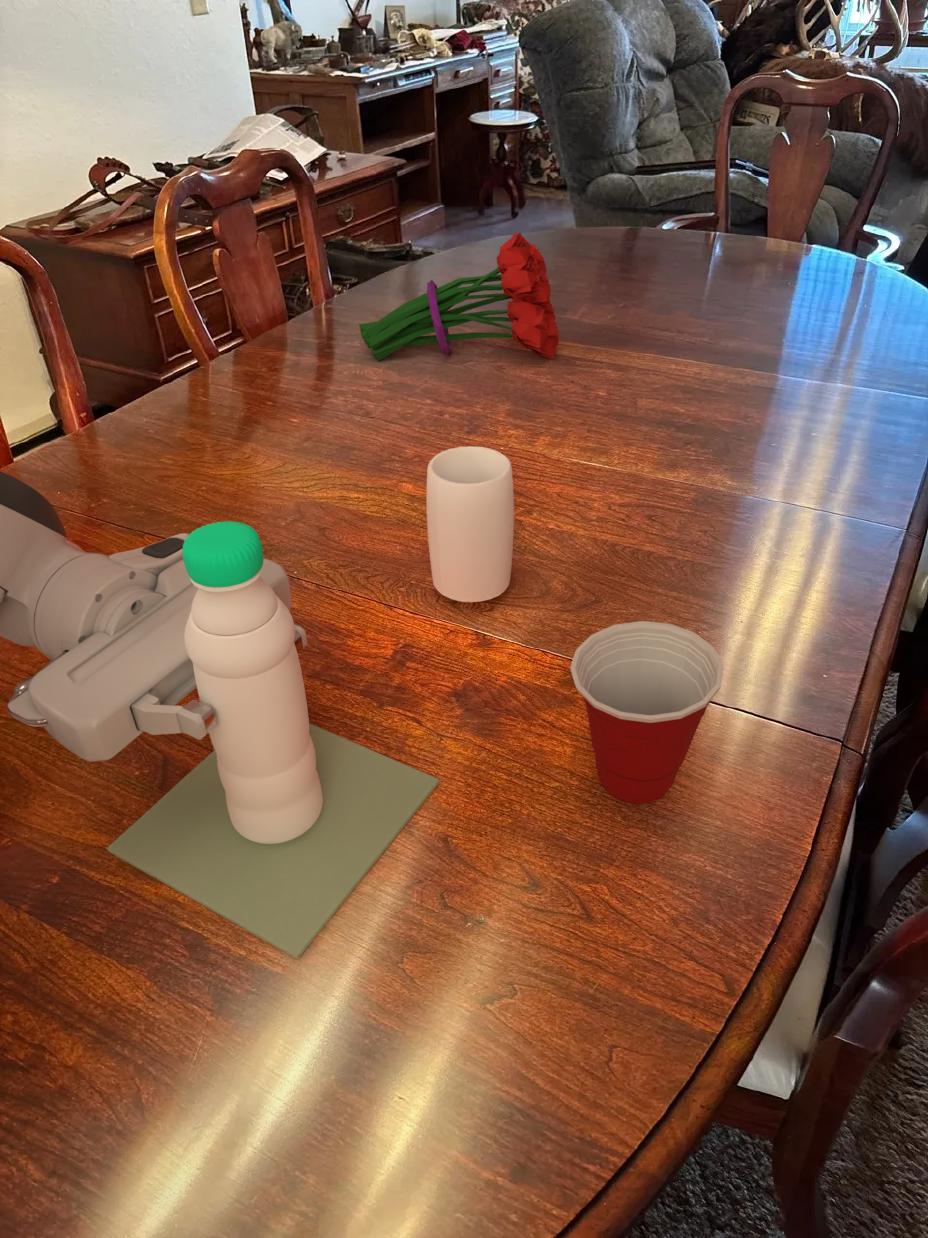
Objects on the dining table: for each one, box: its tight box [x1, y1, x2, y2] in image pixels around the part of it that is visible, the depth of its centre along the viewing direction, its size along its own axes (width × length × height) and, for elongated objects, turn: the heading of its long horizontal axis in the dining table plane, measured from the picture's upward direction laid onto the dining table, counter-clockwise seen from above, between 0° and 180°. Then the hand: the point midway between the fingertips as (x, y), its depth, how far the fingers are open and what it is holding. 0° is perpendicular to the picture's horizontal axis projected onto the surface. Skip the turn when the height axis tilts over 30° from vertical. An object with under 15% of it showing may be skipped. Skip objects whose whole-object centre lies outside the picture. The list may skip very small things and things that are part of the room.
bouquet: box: [358, 230, 560, 362], centre depth 139 cm, size 20×16×30 cm
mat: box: [106, 722, 441, 960], centre depth 71 cm, size 18×18×1 cm
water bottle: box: [182, 520, 323, 844], centre depth 63 cm, size 7×7×25 cm
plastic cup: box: [569, 620, 724, 805], centre depth 70 cm, size 11×11×12 cm
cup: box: [425, 445, 515, 603], centre depth 90 cm, size 8×8×14 cm
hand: (256, 682), depth 62 cm, fingers open, 8 cm apart
